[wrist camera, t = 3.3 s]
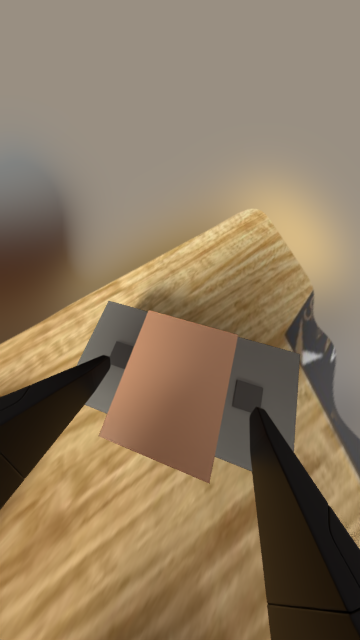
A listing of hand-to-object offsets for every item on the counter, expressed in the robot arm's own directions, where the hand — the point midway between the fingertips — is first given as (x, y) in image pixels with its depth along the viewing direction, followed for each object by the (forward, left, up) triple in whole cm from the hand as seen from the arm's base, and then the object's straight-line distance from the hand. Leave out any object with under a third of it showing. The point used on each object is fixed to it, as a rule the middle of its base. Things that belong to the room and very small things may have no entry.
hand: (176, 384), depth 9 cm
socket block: (0, 0, -9) cm, 9 cm away
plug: (0, 0, -9) cm, 9 cm away
